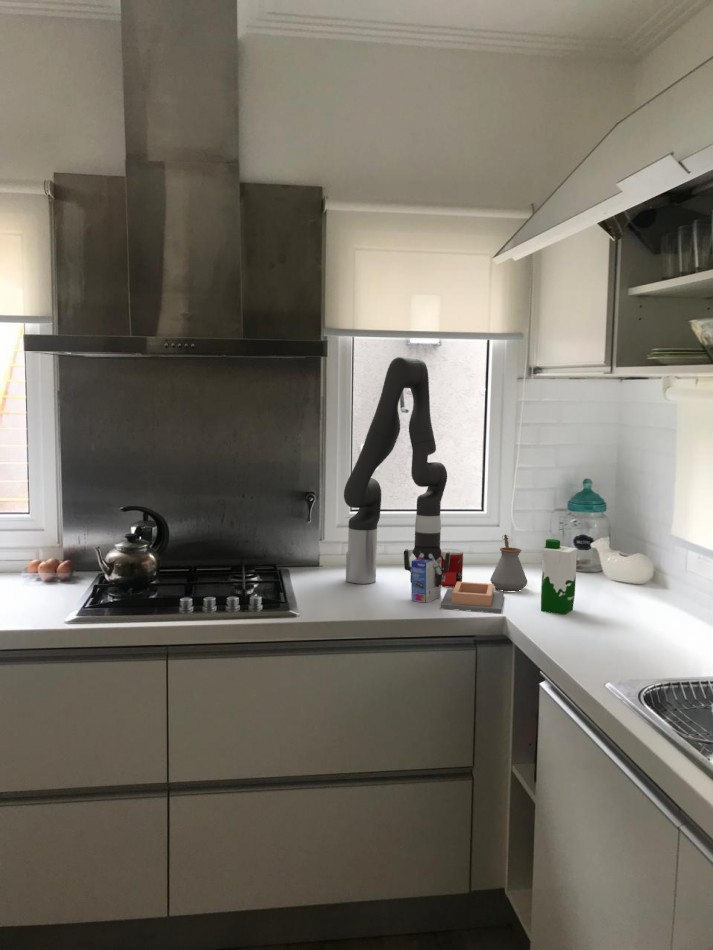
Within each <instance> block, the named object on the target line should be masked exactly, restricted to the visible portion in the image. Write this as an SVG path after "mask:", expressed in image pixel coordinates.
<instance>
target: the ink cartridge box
mask: <svg viewBox="0 0 713 950" xmlns="http://www.w3.org/2000/svg"><path fill="white" fill-rule="evenodd" d="M420 554H421V552H420ZM436 562H439V564H440V566H441V557H439V558H438V559H437V561H436ZM411 567H412V580H411V581H410V584H411V585H410V586H411V589H410V591H411V593H410V594H411V595H410V596H411V601H413V602H418V603H423V604H426V603H429V602H432V601H433V600H436V599H438V598H440V597H442V594H441V593H442V591H441V590H442V586H441V585H439V587H436V584H437V574H438V573H437V571H436V569H435V568H434V566H433V560H430V559H424V557H423V559H416V558H415V559H413V560H411Z"/></svg>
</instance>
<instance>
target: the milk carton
mask: <svg viewBox="0 0 713 950" xmlns="http://www.w3.org/2000/svg"><path fill="white" fill-rule="evenodd" d="M541 554H542V557H541V558H542V564H541V565H542V566H541V570H542V572H541V586H540V587H541V589H540V592H541V593H540V611H541V612H545V611H546V613H551V612H552V614H557V613H558V614H559V615H564V616H565V615H567V614H568V613H570V612H571V611H573V609H574V602H575V596H576V579H577V576H576V575H577V557H578V548H577V547H569V546H562V545H561V540H559V539H553V538H551V539H548V538H547V539H545V546H544V547H543V548H542V550H541ZM558 614H557V615H558Z"/></svg>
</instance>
